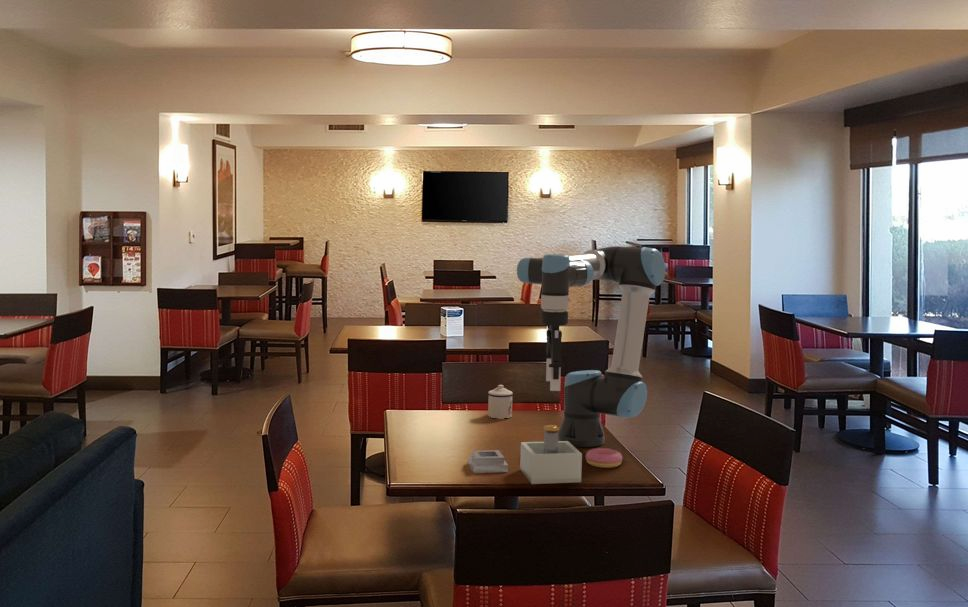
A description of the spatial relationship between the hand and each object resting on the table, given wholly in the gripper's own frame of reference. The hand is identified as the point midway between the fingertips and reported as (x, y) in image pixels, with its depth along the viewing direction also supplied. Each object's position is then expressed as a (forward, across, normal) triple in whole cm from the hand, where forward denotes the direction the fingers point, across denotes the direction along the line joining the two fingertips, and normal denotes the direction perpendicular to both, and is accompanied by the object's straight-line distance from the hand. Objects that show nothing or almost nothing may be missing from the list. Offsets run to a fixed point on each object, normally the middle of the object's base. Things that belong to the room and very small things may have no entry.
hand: (552, 385), depth 251 cm
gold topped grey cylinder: (+25, 0, 0) cm, 25 cm away
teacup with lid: (+26, +74, +12) cm, 79 cm away
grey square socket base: (+26, +7, +18) cm, 32 cm away
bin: (+26, 0, 0) cm, 26 cm away
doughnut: (+26, +13, -17) cm, 34 cm away
